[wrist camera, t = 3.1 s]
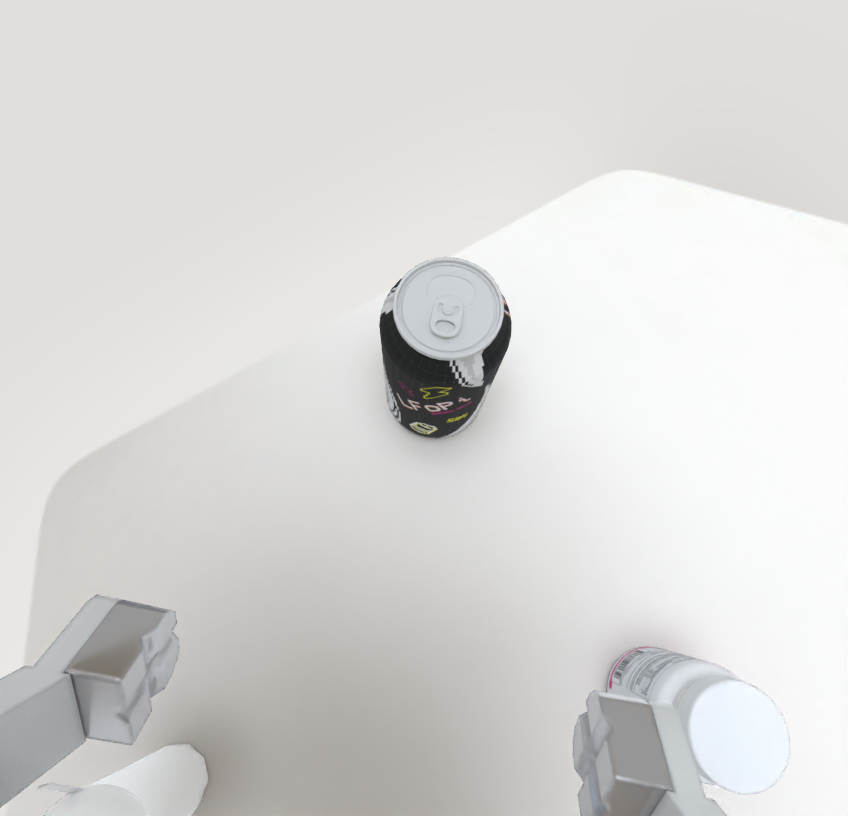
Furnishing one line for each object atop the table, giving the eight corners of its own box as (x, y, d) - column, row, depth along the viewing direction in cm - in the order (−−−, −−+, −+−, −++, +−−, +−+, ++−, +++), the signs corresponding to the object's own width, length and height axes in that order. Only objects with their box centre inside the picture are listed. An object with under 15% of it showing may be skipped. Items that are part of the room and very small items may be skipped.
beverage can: (378, 432, 33) (364, 358, 22) (396, 344, 35) (391, 232, 24) (474, 449, 33) (510, 383, 22) (487, 360, 35) (527, 255, 23)
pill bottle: (700, 742, 29) (813, 806, 21) (610, 745, 29) (689, 811, 21) (686, 643, 31) (787, 668, 23) (600, 646, 30) (670, 672, 22)
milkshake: (207, 698, 29) (110, 760, 20) (231, 812, 28) (139, 938, 18) (118, 730, 29) (-26, 809, 19) (138, 847, 27) (-7, 997, 18)
